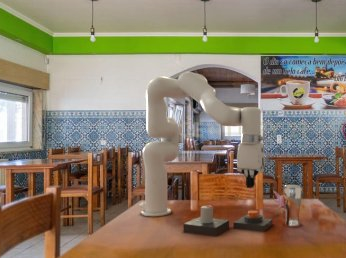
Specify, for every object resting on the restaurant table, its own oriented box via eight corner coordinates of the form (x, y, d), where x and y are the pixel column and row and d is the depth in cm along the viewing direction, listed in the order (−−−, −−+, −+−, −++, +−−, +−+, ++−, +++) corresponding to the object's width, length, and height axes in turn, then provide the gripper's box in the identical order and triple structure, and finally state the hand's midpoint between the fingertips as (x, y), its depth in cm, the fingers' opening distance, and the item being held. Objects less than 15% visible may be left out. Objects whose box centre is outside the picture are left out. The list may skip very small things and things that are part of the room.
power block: (233, 228, 132) (233, 217, 132) (243, 221, 141) (243, 211, 141) (263, 231, 127) (263, 220, 127) (272, 224, 136) (272, 214, 136)
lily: (295, 221, 146) (302, 199, 149) (268, 210, 146) (276, 188, 149) (287, 222, 157) (294, 202, 161) (263, 212, 157) (270, 192, 160)
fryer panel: (183, 232, 127) (183, 223, 127) (199, 224, 137) (199, 216, 137) (215, 236, 122) (215, 227, 122) (229, 228, 132) (229, 219, 132)
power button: (246, 217, 133) (246, 212, 133) (250, 215, 137) (250, 210, 137) (256, 218, 132) (256, 213, 132) (260, 216, 135) (260, 211, 135)
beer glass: (301, 227, 132) (300, 187, 132) (282, 226, 134) (282, 187, 134) (301, 222, 139) (301, 184, 139) (283, 222, 141) (283, 184, 141)
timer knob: (198, 222, 129) (198, 206, 129) (204, 219, 133) (204, 204, 133) (209, 223, 127) (209, 207, 127) (214, 221, 131) (214, 205, 131)
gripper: (272, 139, 136) (271, 187, 136) (236, 138, 142) (236, 184, 142) (265, 140, 129) (265, 190, 129) (228, 139, 135) (228, 187, 135)
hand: (250, 187), depth 135 cm, fingers closed
